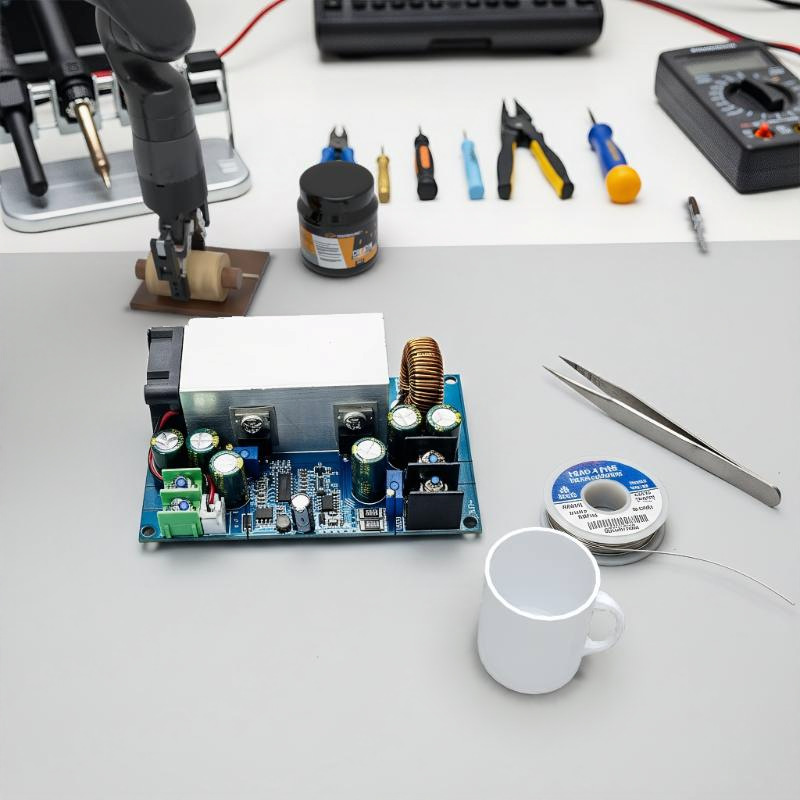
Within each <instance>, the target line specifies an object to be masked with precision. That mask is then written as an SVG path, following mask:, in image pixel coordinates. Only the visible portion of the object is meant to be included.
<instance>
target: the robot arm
mask: <svg viewBox="0 0 800 800" xmlns="http://www.w3.org/2000/svg"><path fill="white" fill-rule="evenodd" d="M84 1H85V2H86V3H89V4H91V5H93V6H95V26H96V30H97V34H98V37H99V41H100V43H101V46H102V49H103V51H104V53H105V56H106V57H107V61H108V62H109V65H110V67H111V69H112V72H113V74H114V77H115V78H116V80H117V82H118V84H119V86H120V88H121V91H122V92H123V94H124V98H125V102H126V109H127V114H128V119H129V124H130V125H129V126H130V129H131V136H132V150H133V156H134V161H135V166H136V171H137V176H138V181H139V187H140V191H141V197H142V201H143V203H144V205H145V206H146V207H147V208H148V209H149V210H151V211H152V212H153V213H155V214H156V215H157V216H158V220H157V225H158V226H157V230H158V232H159V237H158V238H157V237H156V238H155V237H151V238H150V240H149V247H150V250H151V252H152V256H153V260H154V265H155V269H156V273H157V277H158V280H160V281H169V286H170V291H171V296H172V298H173V299H174V300H181V301H188V300H189V298H190V296H191V294H190V289H189V283H188V277H187V271H186V267H187V258H188V257H190V255H191V250H199V251H206V246H207V245H206V238H207V230H206V228H209V227H210V225H211V219H210V212H209V203H208V202H209V201H208V196H209V188H208V183H207V182H208V181H207V175H206V168H205V161H204V155H203V149H202V143H201V138H200V134H199V132H198V127H197V123H196V117H195V116H196V115H195V108H194V102H193V98H192V97H193V96H192V91H191V87H190V83H189V81H188V80H187V79H188V78H186V77H185V76H184V75H183V73H182V72H180V71H178V69H176V68H175V67H173V65H172V64H170V63H173V62H177V61H179V60H181V59H182V58H184V57H185V56H186V55H187V54H188V53H190V51H191V49H192V47H193V45H194V43H195V41H196V40H195V39H196V33H197V27H196V18H195V16H194V12H193V9H192V8H191V5H190V3H189V2H188V1H187V0H84ZM176 246H184V249H183V250H182V251H181V250H176ZM177 258H179V260H180V265H179V264H178V259H177Z"/></svg>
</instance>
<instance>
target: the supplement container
mask: <svg viewBox="0 0 800 800" xmlns="http://www.w3.org/2000/svg"><path fill="white" fill-rule="evenodd" d="M298 186H299V187H298V188H299V196H298V198H297V201H296V211H297V215H298V216H297V217H298V228H299V229H298V230H299V242H300V249H299V251H300V257H301V259H302V261H303V262H304V264H305V265H306V266H307V267H308V268H309V269H310V270H312V271H314V272H316V273H318V274H320V275H324V276H328V277H339V278H340V277H348V276H354V275H357V274H360V273H362V272H364V271H366V270H368V269H369V268H370V267H371V266H372V265H373V264H374V263H375V262H376V261H377V258H378V255H379V250H380V249H379V228H378V227H379V225H378V224H379V220H378V219H379V216H378V214H379V213H378V211H379V198H378V196H377V194H376V193H375V177H374V175H373V172H372V171H370V170H369V169H368V168H367V167H365V166H363V165H362V164H359V163H356V162H352V161H347V160H328V161H323V162H319V163H316V164H313V165H312V166H309V167H308V168H307V169H305V170H304V171H303V172H302V173H301V175H300V176H299V180H298Z"/></svg>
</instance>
